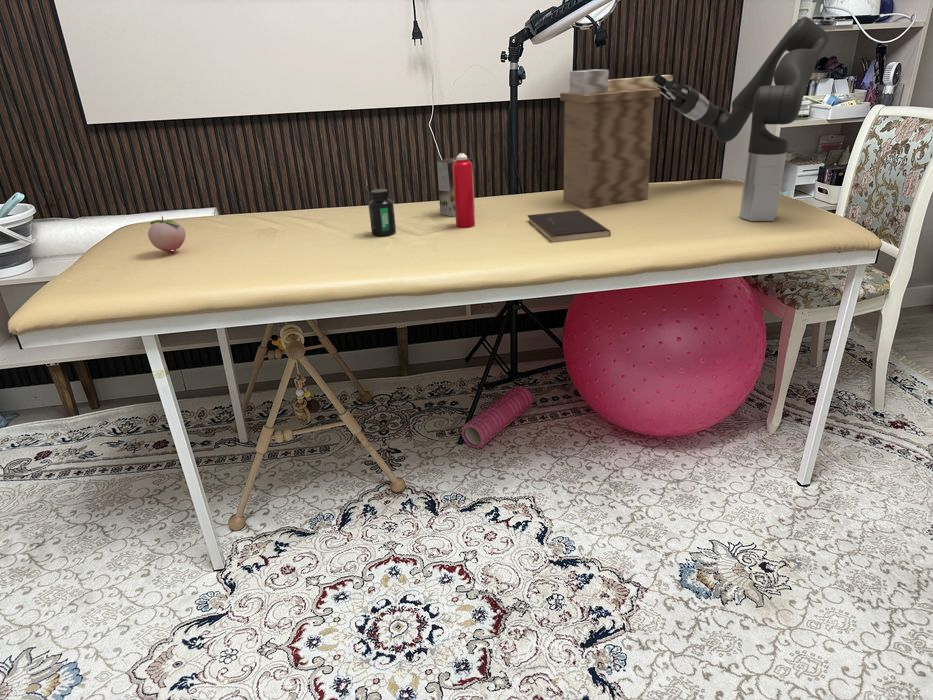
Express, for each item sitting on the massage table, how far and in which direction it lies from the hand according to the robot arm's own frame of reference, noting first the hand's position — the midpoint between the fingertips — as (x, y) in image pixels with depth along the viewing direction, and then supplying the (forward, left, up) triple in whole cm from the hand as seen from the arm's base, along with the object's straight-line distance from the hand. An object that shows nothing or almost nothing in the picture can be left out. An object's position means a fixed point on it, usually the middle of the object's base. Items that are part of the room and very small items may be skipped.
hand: (651, 76), depth 189 cm
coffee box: (-21, +58, -35) cm, 71 cm away
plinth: (-7, +13, -35) cm, 38 cm away
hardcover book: (-40, +24, -36) cm, 59 cm away
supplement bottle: (-44, +75, -35) cm, 94 cm away
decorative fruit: (-62, +130, -35) cm, 148 cm away
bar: (-5, +8, -3) cm, 10 cm away
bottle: (-36, +53, -35) cm, 73 cm away
